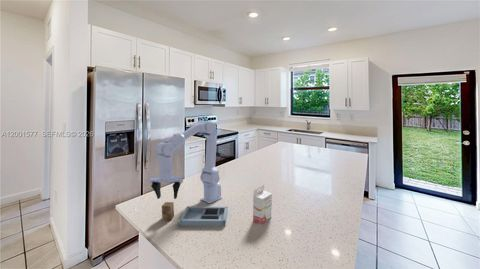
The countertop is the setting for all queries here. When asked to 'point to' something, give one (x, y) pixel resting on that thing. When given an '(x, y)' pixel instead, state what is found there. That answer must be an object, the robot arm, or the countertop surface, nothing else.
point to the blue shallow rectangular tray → (204, 216)
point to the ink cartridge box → (261, 205)
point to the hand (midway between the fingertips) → (167, 197)
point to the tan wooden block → (167, 211)
